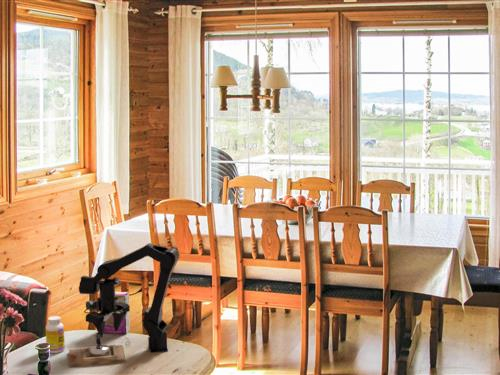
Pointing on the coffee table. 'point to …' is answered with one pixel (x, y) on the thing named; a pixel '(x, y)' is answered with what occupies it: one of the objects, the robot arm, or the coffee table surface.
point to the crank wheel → (99, 348)
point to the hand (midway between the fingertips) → (108, 334)
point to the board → (84, 359)
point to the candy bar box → (109, 319)
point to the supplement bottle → (55, 334)
